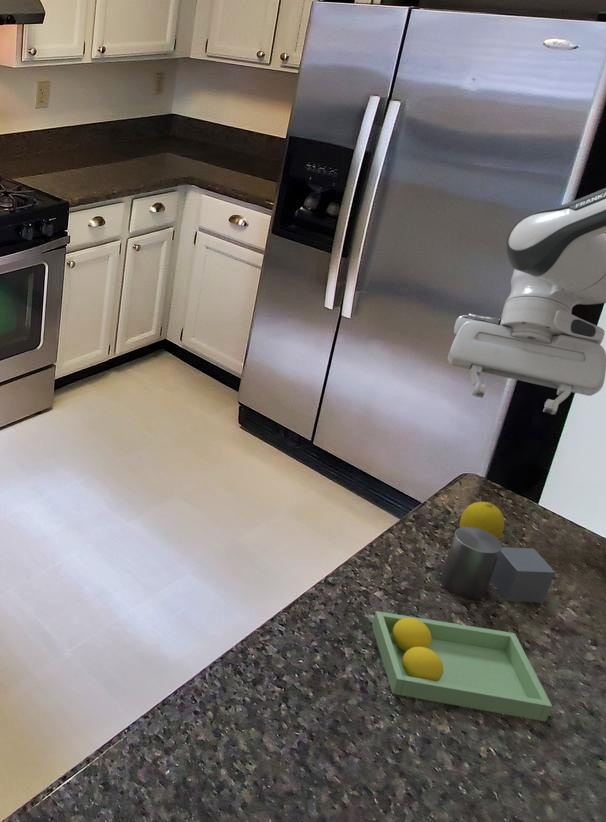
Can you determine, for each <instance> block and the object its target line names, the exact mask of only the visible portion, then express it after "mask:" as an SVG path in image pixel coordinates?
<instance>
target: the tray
mask: <svg viewBox="0 0 606 822" xmlns="http://www.w3.org/2000/svg"><path fill="white" fill-rule="evenodd" d="M403 618H414V619H417V620H419V621H421V622H422V623H424V624H425V625H426V626H427V627H428V629H429V630H430V633H431V636H432V642H431V645H430V647H429V648H428V649H430V650H432V651H433V652H435V653H436V654H437V655H438V656H439V658H440V659H441V661H442V664H443V675H442V677H441V678H440V680H439V681H432V680H426V679H421V678H415V677H409V676H408V675H407V674H406V672H405V671H404V668H403V664H402V660H403V656H404V654H405V653H406V651H404V650H402V649H401V648H400V647H399V646H398V645H397V644H396V642H395V641H394V638H393V627H394V625H395V624H396V623H397V622H398V621H399V620H401V619H403ZM371 628H372V630H373V634H374V637H375V641H376V643H377V647H378V651H379V655H380V657H381V661H382V664H383V668H384V671H385V674H386V676H387V680H388V683H389V687H390V690H391V694H392V695H397V696H402V697H407V698H413V699H420V700H424V701H430V702H436V703H441V704H445V705H451V706H452V705H453V706H459V707H463V708H469V709H475V710H480V711H486V712H489V713H490V712H491V713H497V714H503V715H506V716H511V717H512V716H513V717H519V718H523V719H530V720H533V721H535V720H536V721H539V722H547V720H548V717H549V716H550V713H551V711H552V708H553V705H552V703H551V701H550V699H549V697H548V695H547V693H546V691H545V689H544V687H543V685H542V683H541V681H540V679H539V677H538V675H537V673H536V671H535V670H534V668H533V665H532V663H531V662H530V660H529V658H528V655H527V654H526V652H525V649H523V647H522V645H521V642H520V641H519V638H518V637H517V635H516V633H515V632H509V631H504V630H497V629H491V628H484V627H478V626H472V625H466V624H459V623H453V622H448V621H447V622H446V621H441V620H434V619H430V618H429V619H428V618H423V617H415V616H409V615H404V614H398V613H391V612H384V611H377V610H376V611H375V612H374V616H373V619H372V624H371Z"/></svg>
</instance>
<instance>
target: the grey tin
mask: <svg viewBox="0 0 606 822" xmlns="http://www.w3.org/2000/svg"><path fill="white" fill-rule="evenodd" d="M502 547H503V545H502V542H501V541H500V539H499V540H498V539H497V538H496V537H495V536H494V535H492V534H491V533H489V532H487V531H484V530H482V529H479V528H474V527H461V528H460V527H458V528H457V529H456V530H455V532H454V535H453V538H452V541H451V544H450V547H449V549H448V553H447V556H446V558H445V561H444V565H443V568H442V571H441V574H440V577H439V581H440V585H442V587H443V588H444V589H445V590H446V591H447V592H449V593H450V594H452V595H455V596H456V597H459V598H461V599H465V600H471V601H477V600H481V599H483V598H484V597H485V595H486V593H487V590H488V588H489V585H490V582H491V581H490V579H491V577H492V574H493V571H494V568H495V566H496V563H497V560H498V557H499V555H500V552H501V549H502Z"/></svg>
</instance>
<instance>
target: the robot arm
mask: <svg viewBox="0 0 606 822" xmlns="http://www.w3.org/2000/svg"><path fill="white" fill-rule="evenodd" d="M506 254H507V258H508V261H509V263H510V265H511V267H512V268H513V269H514V270H513V272H512V275H511V280H510V288H511V290H510V293H509V295H508V297H507V298H506V300H505V302H504V305H503V309H502V313H501V316H500V318H498V317H493V316H486V315H485V316H484V315H479V314H477V313H468V314H462V315H460V316H459V317H457V318H456V319H455V322H454V324H453V328H452V329H453V330H452V331H453V333H454V335H455V337H454V339H453V341H452V344H451V346H450V349H449V352H448V355H447V361H448V363H449V364H450V365H451V366H453V367H458V368H462V369H466V370H469V373H468V376H469V379H470V381H471V383H472V386H473V390H472V393H471V396H472V397H473V396H474V397H476V398H477V397H478V398H482V399H483V398H484V395H485V392H486V389H487V384H484V383H482V382H481V380H480V378H479V377H480V376H481V373H485V374H490V375H493V376H498V377H502V378H507V379H511V380H516V381H521V382H525V383H530V384H534V385H539V386H542V387H547V388H552V389H556V395H557V397H556V398H555V399H550V398H547V399H546V401H545V402H544V406H543V407H544V408H543V410H542V412H543V413H546V414H550V415H556V414H557V412H558V410H559V409H558V408H559V405H560V404H561V403H562V402H563V401H565V400H566V399H567V398H568V397H569V396H570V395H571V393H575V394H580V395H584V396H590V397H591V396H593V395H595V394H597V393H599V392H600V391H601V390H602V388H603V386H604V383H605V379H606V350H605V348H604V347H603V346H602V342H603V340H604V337H605V330H604V329H603V328H602V327H600V326H598V325H596V324H594V323H591V322H590V321H587V320H585V319H582V318H580V317H579V316H576V315H574V314H572V312H573V308H574V306H576V305H584V306H592V305H593V306H594V305H602V304H606V187H604V188H601V189H599V190H597V191H595V192H592V193H590V194H587V195H585V196H582V197H579V198H578V199H575V200H573V201H570V202H567V203H564V204H560V205H557V206H556V205H555V206H551V207H547V208H544V209H540V210H537V211H535V212H532V213H530V214H528V215H526V216H525V217H523V218H522V219H520V220H519V221H518V222H517V223H516V224H514V226H513V227H512V228H511V230H510V232H509V233H508V235H507V239H506Z"/></svg>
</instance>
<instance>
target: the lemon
mask: <svg viewBox="0 0 606 822" xmlns="http://www.w3.org/2000/svg"><path fill="white" fill-rule="evenodd" d="M461 527H474V528H479V529H482V530H484V531H487V532H489V533H491V534H492V535H494V536H495V537H496V538H497V539H498V540H499V541H500V539H501V537H502V535H503V532H504V530H505V518H504V514H503V512H502V510H500V509H499V507H497V506H496V505H495V504H493V503H492V502H489V501H476V502H473V503H471V504H469V505H468V506H467V507H466V508H465V509H464V510H463V512H462V514H461V516H460V520H459V528H461Z"/></svg>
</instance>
